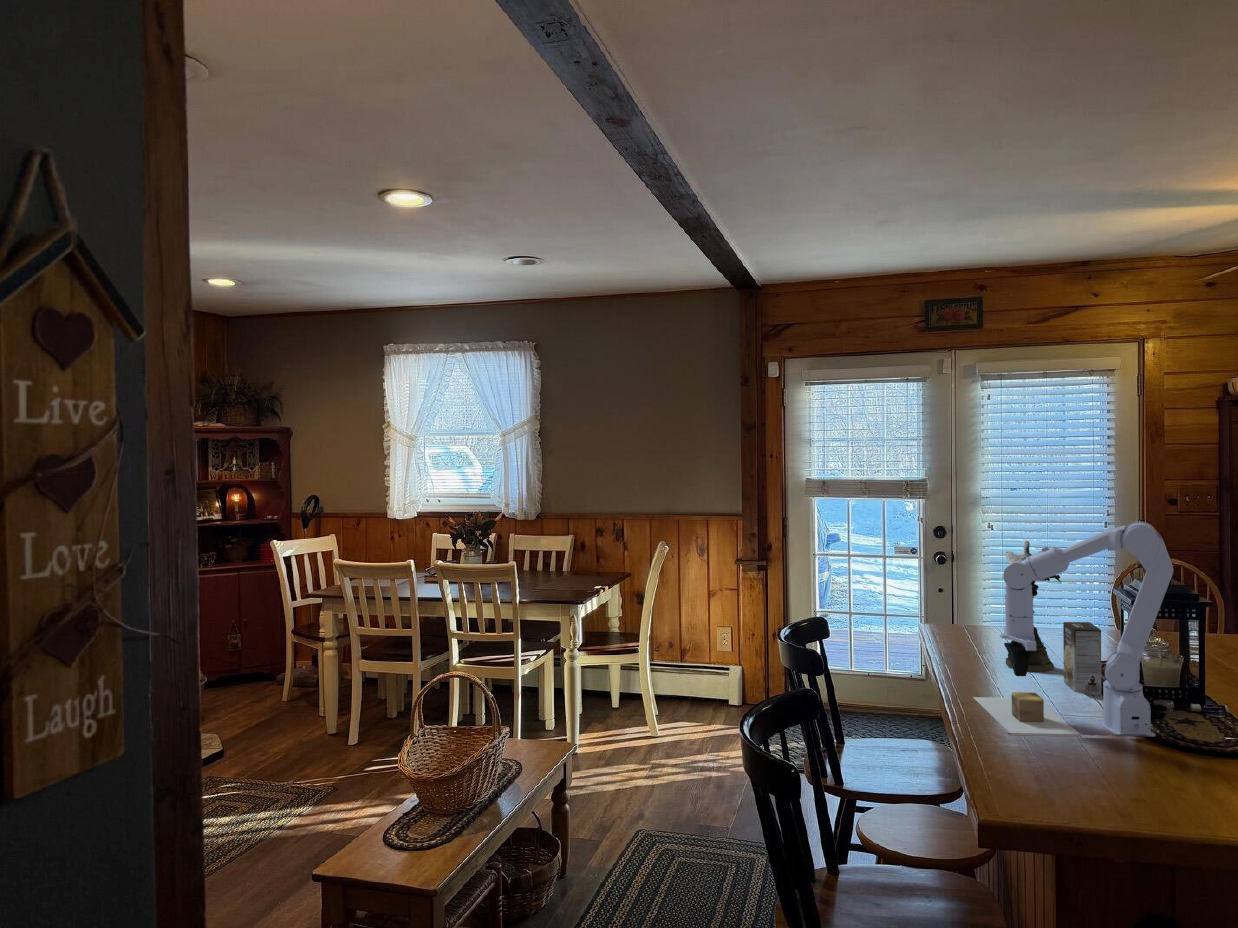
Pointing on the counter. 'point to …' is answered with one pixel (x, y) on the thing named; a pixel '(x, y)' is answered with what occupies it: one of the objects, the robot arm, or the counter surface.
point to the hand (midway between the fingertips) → (1020, 675)
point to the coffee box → (1082, 657)
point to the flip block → (1027, 707)
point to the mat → (1003, 715)
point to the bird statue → (1039, 657)
